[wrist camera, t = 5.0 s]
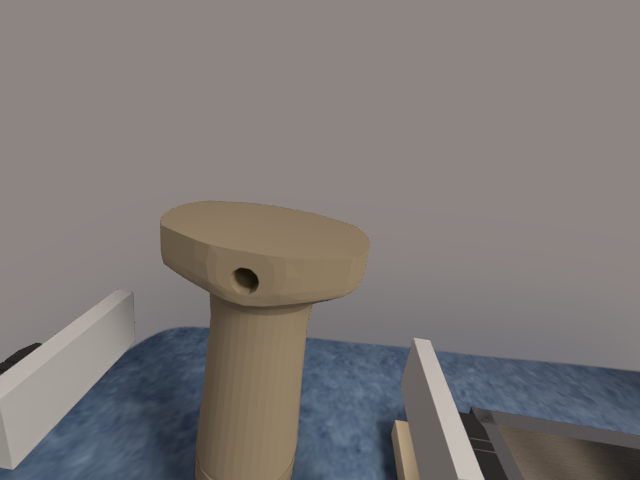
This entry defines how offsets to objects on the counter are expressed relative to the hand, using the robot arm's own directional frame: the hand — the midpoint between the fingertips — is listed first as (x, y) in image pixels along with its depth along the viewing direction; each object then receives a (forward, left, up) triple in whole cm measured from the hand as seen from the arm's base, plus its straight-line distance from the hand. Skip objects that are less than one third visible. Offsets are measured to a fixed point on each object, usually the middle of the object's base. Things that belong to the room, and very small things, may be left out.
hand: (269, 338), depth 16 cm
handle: (0, +3, -9) cm, 9 cm away
